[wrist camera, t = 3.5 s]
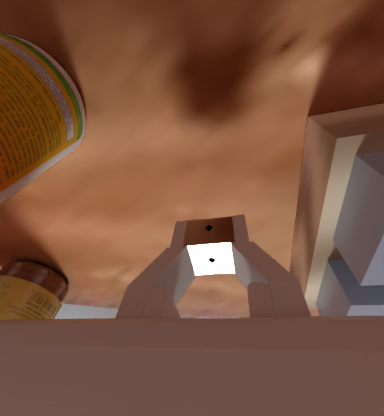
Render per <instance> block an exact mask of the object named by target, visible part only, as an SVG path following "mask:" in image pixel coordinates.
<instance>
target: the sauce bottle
mask: <svg viewBox="0 0 384 416" xmlns="http://www.w3.org/2000/svg"><path fill="white" fill-rule="evenodd" d="M67 292H68V285H67V282H66V281H65V280H64V279H63V277H62V276H60V275H59V274H58V273H56V272H55V271H53V270H52V269H50V268H48V267H45V266H43V265H39V264H37V263H33V262H30V261H15V262H11V263H9V264H7V265H6V266H4V267H3V268H2V269H1V270H0V320H10V319H54V318H55V316H56V314H57V312H58V311H59V309H60V307H61V306H62V305H61V302H62V301H63V299H64V297H65V296H66V295H67Z"/></svg>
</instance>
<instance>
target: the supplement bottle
mask: <svg viewBox="0 0 384 416" xmlns="http://www.w3.org/2000/svg"><path fill="white" fill-rule="evenodd" d="M85 129H86V116H85V109H84V105H83V102H82V99H81V96H80V94H79V92H78V90H77V88H76V86H75V84H74V83H73V81H72V79H71V78H70V77H69V75H68V74H67V73H66V71H65V70H64V69H63V68H62V67H61V66H60V65H59V64H58V62H57V61H56V60H54V59H53V58H52V57H51V56H50V55H49V54H48V53H46V52H45V51H44V50H42V49H41V48H39V47H38V46H36V45H34V44H32V43H31V42H29V41H26V40H24V39H22V38H19V37H16V36H12V35H7V34H0V204H2V203H3V202H4V201H6V200H7V199H9V198H10V197H11V196H13V195H14V194H16V193H17V192H18V191H19V190H21V189H22V188H24V187H25V186H26V185H28V184H29V183H31V182H32V181H33V180H35V179H36V178H37V177H39V176H40V175H42V174H43V173H44V172H46V171H47V170H48V169H50V168H51V167H53V166H54V165H55V164H57V163H58V162H59V161H61V160H62V159H64V158H65V157H66V156H68V155H69V154H70V153H71V152H72V151H74V150H75V149H76V148H77V147H78V146H79V144H80V143H81V141H82V139H83V137H84V134H85Z"/></svg>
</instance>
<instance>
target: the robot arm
mask: <svg viewBox="0 0 384 416" xmlns="http://www.w3.org/2000/svg"><path fill="white" fill-rule="evenodd" d="M227 273H235V275H236V276H237V278H238V279H239V280H240V282H241V283H242V284H243V286H244V287H245V288H246V289H247V291H248V303H249V315H250V317H201V318H181V317H180V315H179V313H178V311H177V308H176V305H177V304H178V302H179V301H180V299H181V298H182V296H183V295H184V293H185V292H186V290H187V289H188V287H189V286H190V284H191V283H192V281H193V280H194V278H195V277H196V276H195V275H206V274H227ZM0 416H384V315H383V316H311V314H310V311H309V308H308V306H307V303H306V300H305V297H304V295H303V292H302V289H301V286H300V283H299V281H298V279H297V278H295V277H294V276H293V275H292V274H291V273H289V272H288V271H287V270H286V269H285V268H284V267H282V266H281V265H280V264H279V263H278V262H277V261H275V260H274V259H273V258H272V257H271V256H269V255H268V254H267V253H266V252H265V251H264V250H262V249H261V248H260V247H259V246H258V245H257V244H255V243H254V242H253V241H252V242H249V237H248V232H247V226H246V221H245V216H244V215H236V216H230V217H220V218H211V219H197V220H188V221H187V220H186V221H177V222H176V224H175V229H174V233H173V238H172V242H171V246H170V248H166V249H165V250H164V251H163V252H162V253H161V254H160V255H159V256H158V257H157V258H156V259H155V260H154V261H153V262H152V263H151V264H150V265H149V266H148V267H147V268H146V269H145V270H144V271H143V272H142V273H141V274H140V275H139V276H138V277H137V278H136V279H135V280H133V281H132V282H131V283H130V284H129V285H128V286H127V288H126V291H125V294H124V296H123V299H122V302H121V304H120V307H119V310H118V313H117V315H116V318H112V319H110V318H109V319H10V320H0Z"/></svg>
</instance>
